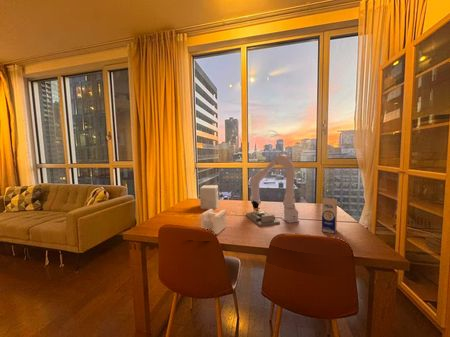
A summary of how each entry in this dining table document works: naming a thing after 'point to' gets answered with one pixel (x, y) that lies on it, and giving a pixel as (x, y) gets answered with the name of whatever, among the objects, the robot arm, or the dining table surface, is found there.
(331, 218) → the milk carton
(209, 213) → the cable organizer
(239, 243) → the dining table surface
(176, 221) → the dining table surface
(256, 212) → the cutter blade
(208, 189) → the supplement box
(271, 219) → the cutter base
